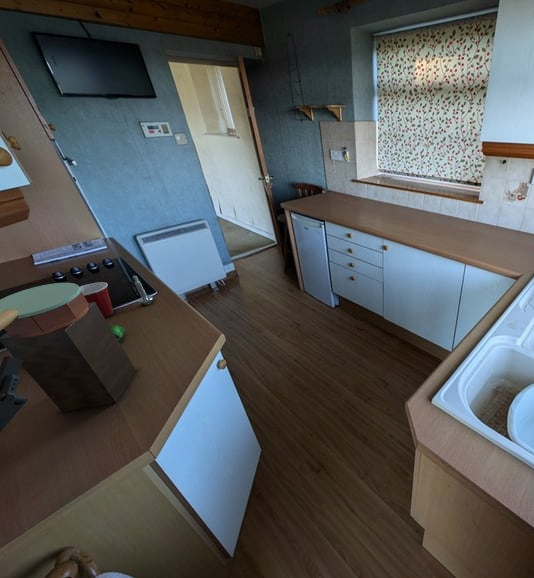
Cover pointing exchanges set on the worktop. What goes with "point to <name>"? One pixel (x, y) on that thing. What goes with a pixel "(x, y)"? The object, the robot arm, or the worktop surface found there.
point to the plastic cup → (98, 296)
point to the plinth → (71, 355)
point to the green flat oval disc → (36, 301)
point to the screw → (142, 292)
